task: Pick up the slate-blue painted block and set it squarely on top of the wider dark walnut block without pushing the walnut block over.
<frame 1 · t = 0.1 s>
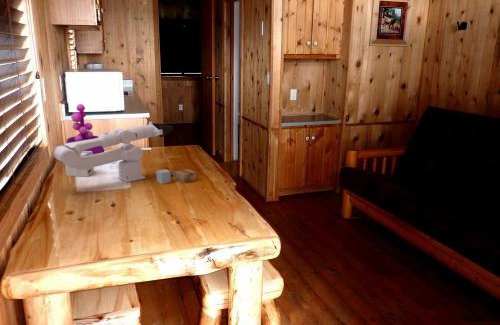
hand: (168, 126, 190), 22 cm above the table, tool horizontal, fingers open, 7 cm apart
walnut block: (185, 180, 183), on the table
cork coaster: (178, 175, 190), on the table
blue block: (163, 181, 179), on the table
decorative plant: (86, 162, 208), on the table
light bulb box: (80, 174, 188), on the table
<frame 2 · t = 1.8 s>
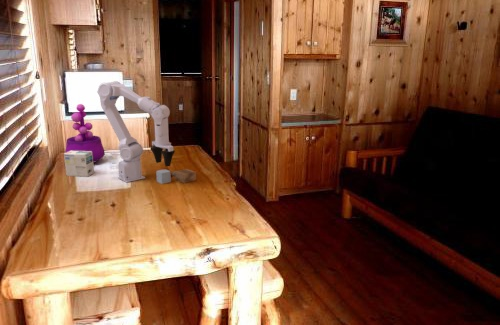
hand: (163, 164, 177), 8 cm above the table, tool pointing down, fingers open, 7 cm apart
nothing on the table moved.
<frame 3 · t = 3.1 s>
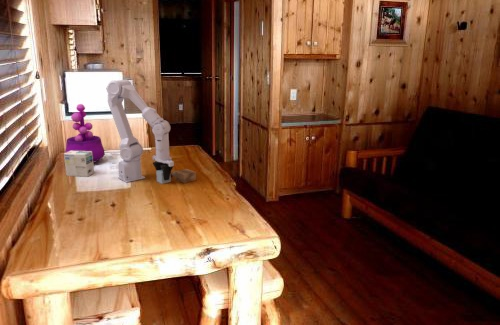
hand: (163, 178, 179), 1 cm above the table, tool pointing down, fingers closed on blue block, 4 cm apart
blue block: (163, 181, 179), on the table, touching gripper
everything else where it was.
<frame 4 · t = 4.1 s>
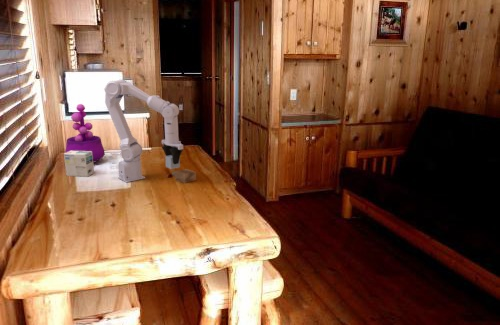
hand: (172, 162, 178), 9 cm above the table, tool pointing down, fingers closed on blue block, 4 cm apart
blue block: (172, 167, 179), point 6 cm above the table, touching gripper
everything else where it was.
when the fingers open (7 cm above the table, at t = 5.2 s): blue block stays where it is, point 4 cm above the table.
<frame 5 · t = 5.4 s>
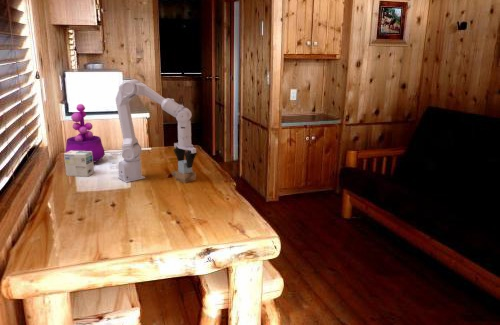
hand: (185, 165, 181), 7 cm above the table, tool pointing down, fingers open, 6 cm apart
blue block: (185, 171, 181), point 4 cm above the table
everything else where it was.
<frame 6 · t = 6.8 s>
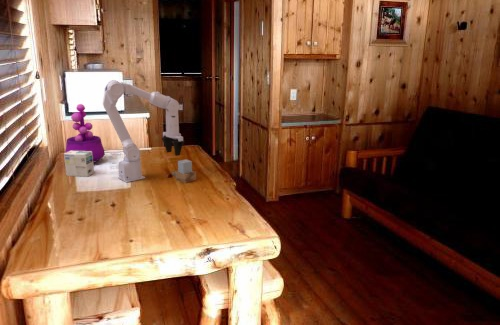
hand: (173, 153, 188), 10 cm above the table, tool pointing down, fingers open, 7 cm apart
nothing on the table moved.
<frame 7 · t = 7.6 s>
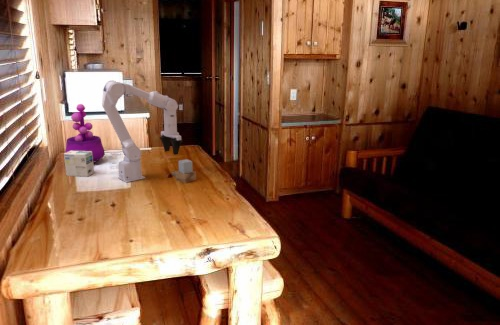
hand: (171, 152, 190), 10 cm above the table, tool pointing down, fingers open, 7 cm apart
nothing on the table moved.
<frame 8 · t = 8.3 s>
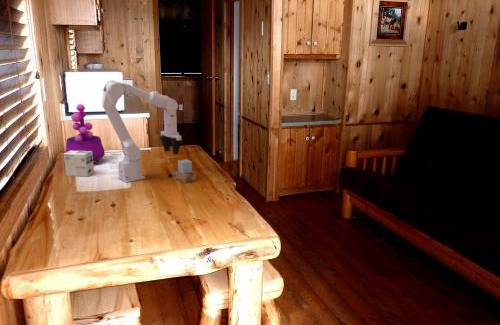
hand: (171, 152, 190), 10 cm above the table, tool pointing down, fingers open, 7 cm apart
nothing on the table moved.
at the end: blue block 0.4 cm off-centre on the walnut block, point 4.0 cm above the walnut block's base; blue block tilted 0°; walnut block moved 0.3 cm from its start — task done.
